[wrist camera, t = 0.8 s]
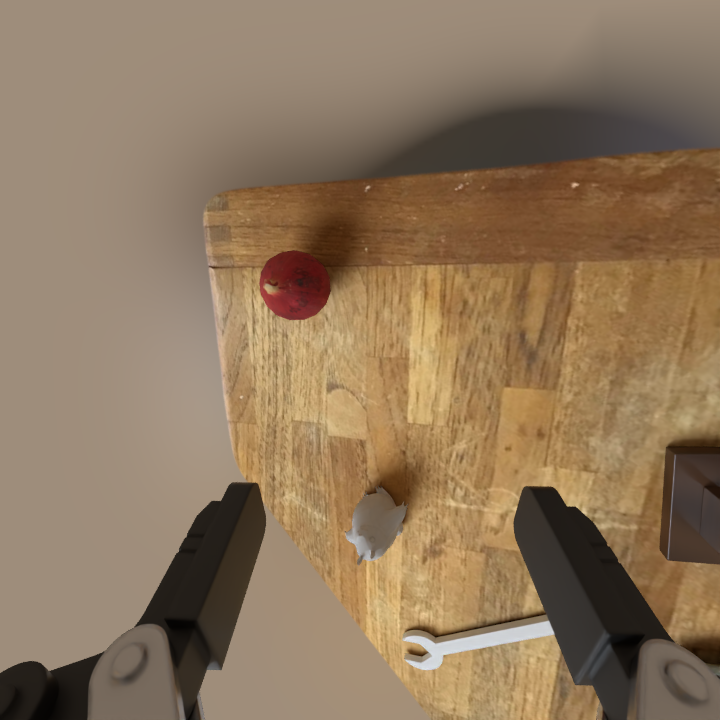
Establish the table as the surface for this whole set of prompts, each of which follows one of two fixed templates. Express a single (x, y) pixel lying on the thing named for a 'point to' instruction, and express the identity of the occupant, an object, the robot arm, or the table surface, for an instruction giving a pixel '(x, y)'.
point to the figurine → (375, 525)
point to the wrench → (473, 639)
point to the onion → (294, 285)
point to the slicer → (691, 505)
